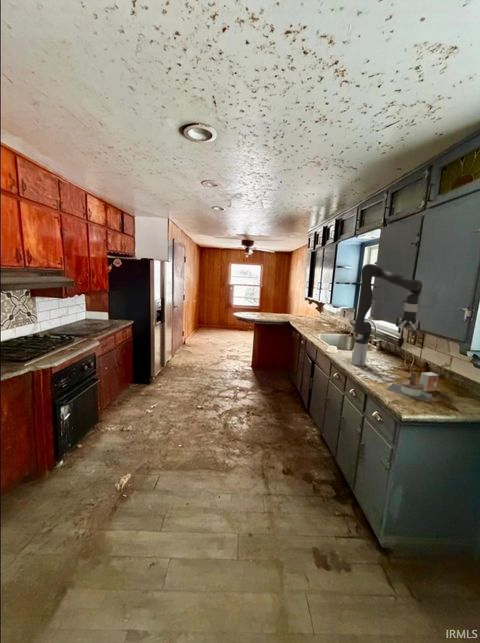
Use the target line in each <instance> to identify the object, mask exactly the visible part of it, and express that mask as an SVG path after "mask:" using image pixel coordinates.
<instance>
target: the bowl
mask: <svg viewBox="0 0 480 643" xmlns="http://www.w3.org/2000/svg"><path fill="white" fill-rule="evenodd" d="M401 386H402V387H401V391H402V392H403V393H404V394H406V395H409V396H414V397H418V396H420V395H421V392H423V390H415V389H410V388H407V387H404V386H403V385H401ZM409 396H408V397H409Z"/></svg>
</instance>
